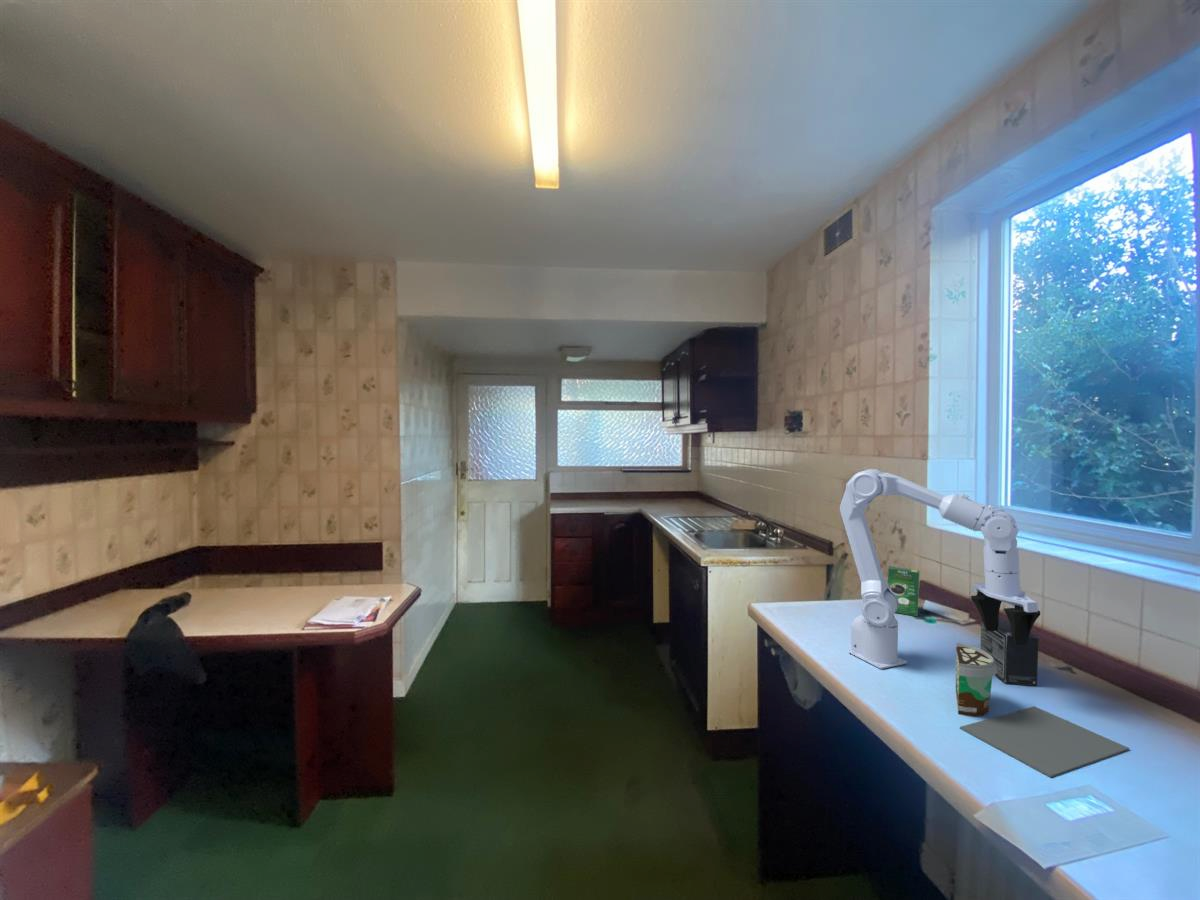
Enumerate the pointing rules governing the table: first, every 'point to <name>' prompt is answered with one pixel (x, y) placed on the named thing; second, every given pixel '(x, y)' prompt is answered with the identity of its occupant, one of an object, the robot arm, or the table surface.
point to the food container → (973, 680)
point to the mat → (1044, 740)
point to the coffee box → (905, 589)
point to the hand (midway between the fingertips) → (1005, 636)
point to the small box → (1011, 655)
